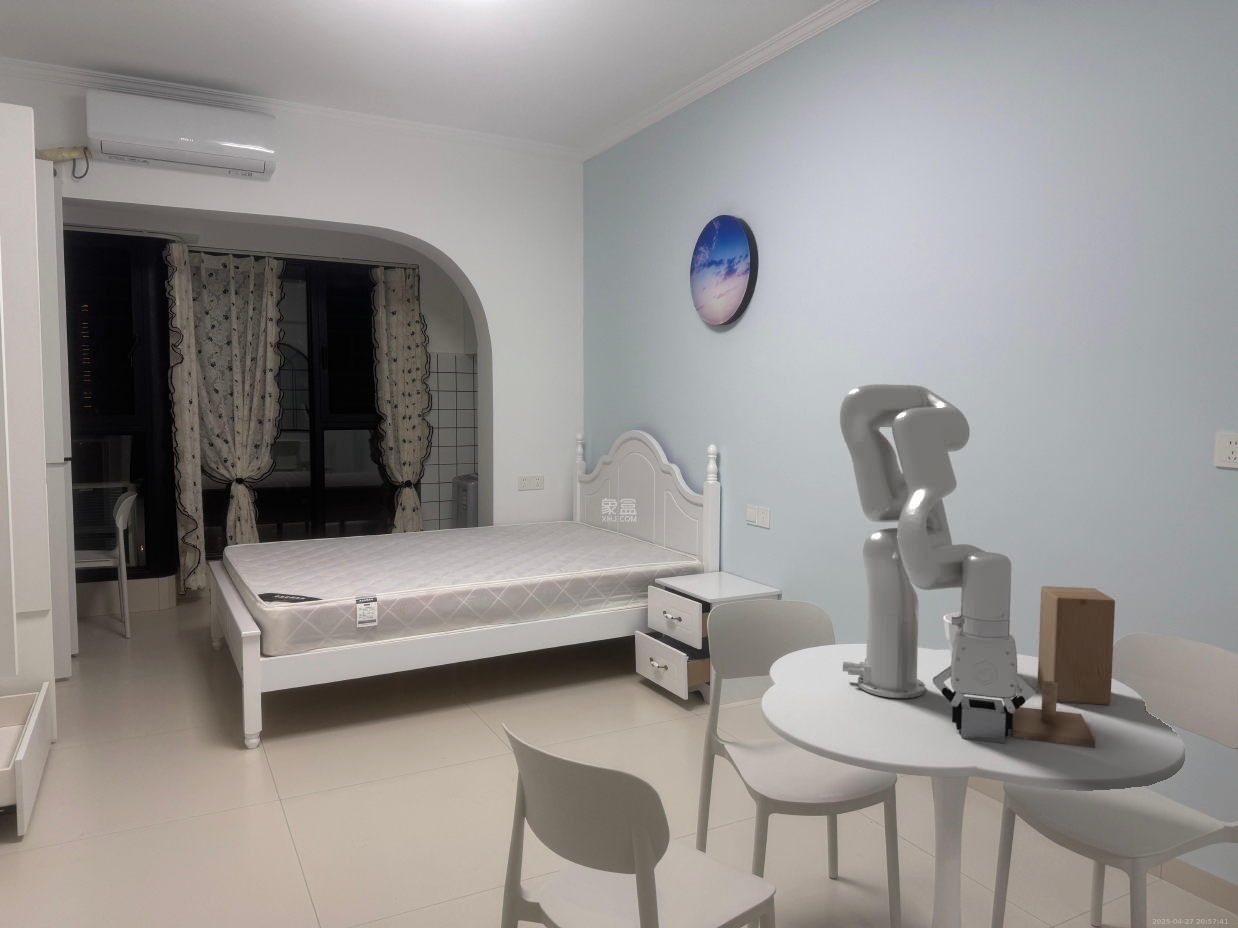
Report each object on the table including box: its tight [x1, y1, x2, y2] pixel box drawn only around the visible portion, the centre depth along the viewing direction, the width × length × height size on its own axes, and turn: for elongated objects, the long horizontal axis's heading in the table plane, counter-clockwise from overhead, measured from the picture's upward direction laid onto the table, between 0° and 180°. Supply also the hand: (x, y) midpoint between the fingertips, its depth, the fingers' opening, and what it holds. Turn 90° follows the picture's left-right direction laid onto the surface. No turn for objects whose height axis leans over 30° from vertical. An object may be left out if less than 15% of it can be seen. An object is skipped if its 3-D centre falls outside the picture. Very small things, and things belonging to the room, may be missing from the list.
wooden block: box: [1037, 585, 1116, 706], centre depth 155 cm, size 10×10×20 cm
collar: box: [959, 695, 1006, 744], centre depth 137 cm, size 7×7×5 cm
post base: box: [1011, 681, 1096, 748], centre depth 139 cm, size 12×12×8 cm
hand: (981, 728), depth 138 cm, fingers closed on collar, 6 cm apart
